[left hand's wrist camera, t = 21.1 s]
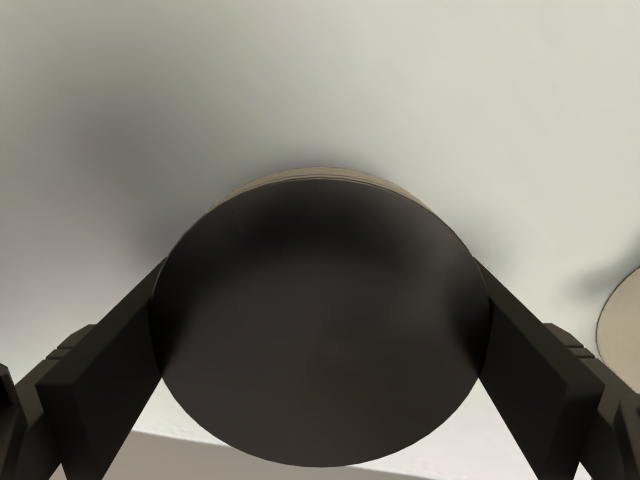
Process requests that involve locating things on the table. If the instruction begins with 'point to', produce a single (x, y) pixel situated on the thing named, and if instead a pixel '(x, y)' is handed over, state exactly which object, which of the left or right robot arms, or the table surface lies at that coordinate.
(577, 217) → the table surface
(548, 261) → the table surface
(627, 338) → the jar
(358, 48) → the table surface
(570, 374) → the left robot arm
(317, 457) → the lid
